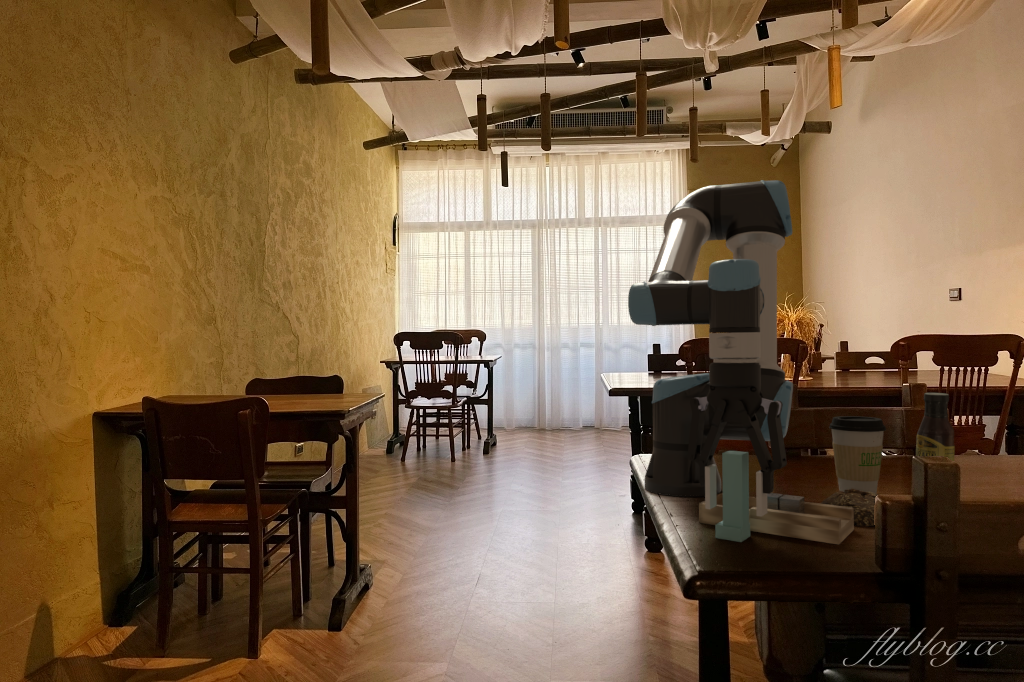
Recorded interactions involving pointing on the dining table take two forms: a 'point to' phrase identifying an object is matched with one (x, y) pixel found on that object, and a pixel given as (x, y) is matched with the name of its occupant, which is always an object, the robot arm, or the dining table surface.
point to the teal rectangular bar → (735, 497)
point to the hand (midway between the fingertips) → (735, 510)
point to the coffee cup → (857, 451)
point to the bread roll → (855, 504)
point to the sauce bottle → (935, 428)
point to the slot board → (792, 521)
